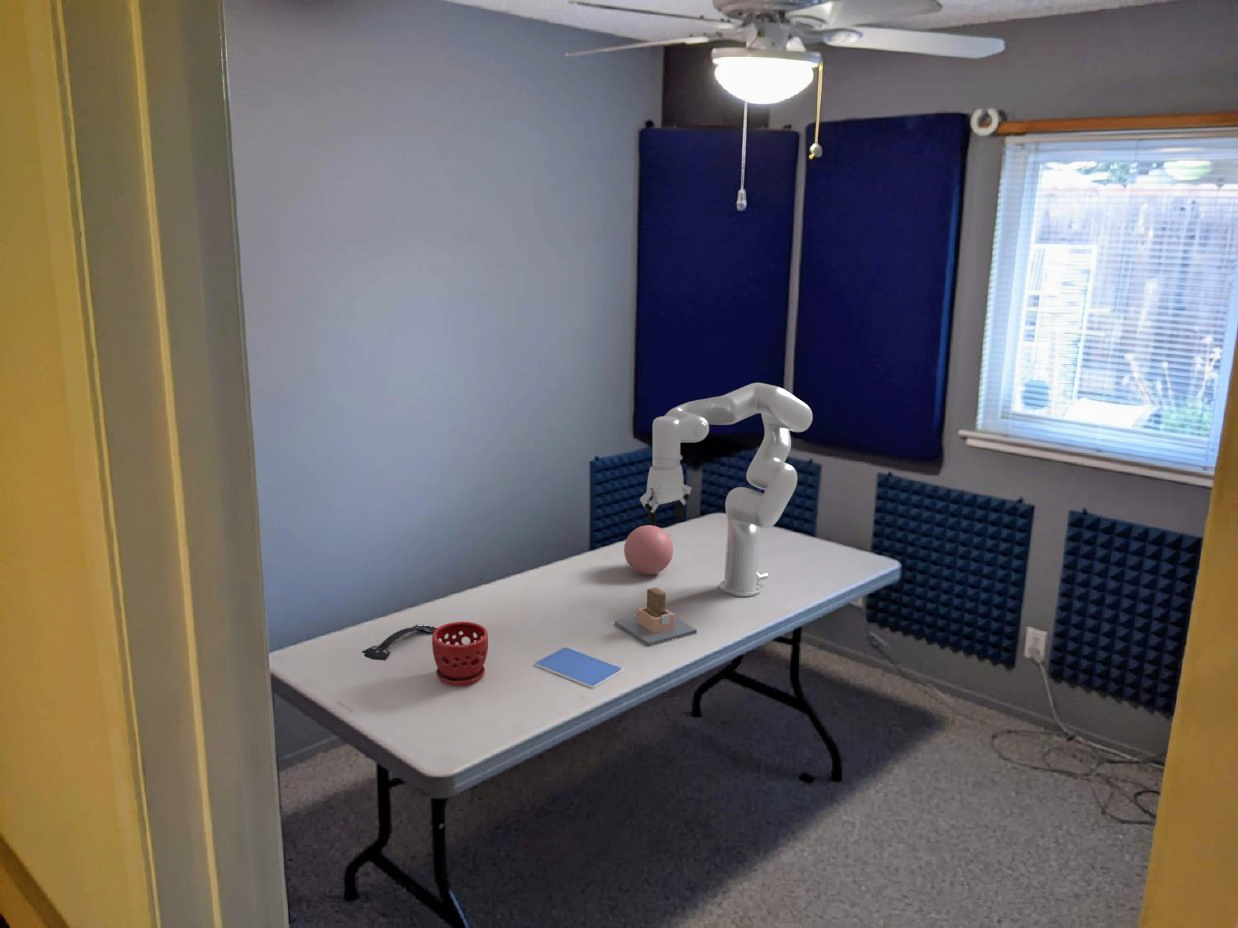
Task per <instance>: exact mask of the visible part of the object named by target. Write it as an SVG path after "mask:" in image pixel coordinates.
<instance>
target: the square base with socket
mask: <svg viewBox="0 0 1238 928" xmlns="http://www.w3.org/2000/svg"><path fill="white" fill-rule="evenodd" d="M646 610H647V606H644V607H641V608H637V609H636V612H637V613H636V615H633V616H629V617H625V618H622V619H619V620H615V621H614V626H616V627H618V628H619V629H621V630H622V631H624V632H625V633H627V634H628V635H630V636H632V637H633V638H635V639H636V638H637V639H636V640H638V641H639V640H640V641H639V642H641V643H642V642H643V643H642V644H644V643H645V644H644V645H646V646H647V645H648V646H647V647H651V646H650V645H652V646H654V645H653V644H655V645H658V644H657V643H659V644H662V643H666V642H669V641H668V640H670V641H672V639H674V640H676V639H675V638H677V639H680V638H684V637H687V635H688V636H691V634H692V635H694V634H698V633H697V632H698V630H697V629H696V628H695V627H693V626H691V625H690V624H687V623H686V622H684V621H683V620H681V619H680V618H677V617H676V615H675V613H673V612H671V611H669V610H668V609H666V608H665V615H661V617H657V618H655V617H653V616H652V615H650V614H648V613H646ZM665 641H666V642H665Z"/></svg>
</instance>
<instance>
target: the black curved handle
mask: <svg viewBox="0 0 1238 928" xmlns="http://www.w3.org/2000/svg"><path fill="white" fill-rule="evenodd" d="M418 625H419V624H415V625H414V626H412V627H406V628H403V629H400V630H397V631H396V632H394V633H392V634H391V635H390V636H388V637H387V638H386V639H384V640H383V641H382V642H381V643H380V644H379V645H372V646H371V647H369V648H366V649H365V650H362V651H361V653H362V654H363V653H365V654H364V655H363V656H364V657H365V658H367V659H370V660H373V661H374V660H375V661H386V660H387V659H388V658H389V656H390V654H391V651H390V650H389V649H388V648H389V647H390V646H393V645H394V644H396V643H399V642H401V641H403V640H405V639H406V638H410V637H411V636H413V635H415V634H417V633H421V634H424V635H429V636H430V635H433V632H434V631H435V630H436V629H437V628H438V627H436V628H435V626H432V627H430V626H431V625H429V626H424V625H425V624H422V625H423V626H418ZM415 631H416V632H415ZM413 632H414V633H413ZM409 634H410V635H409ZM407 635H409V636H407ZM405 636H406V637H405ZM402 637H403V639H401V638H402ZM398 639H400V640H399V641H397V640H398Z"/></svg>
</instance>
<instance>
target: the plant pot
mask: <svg viewBox="0 0 1238 928" xmlns="http://www.w3.org/2000/svg"><path fill="white" fill-rule="evenodd" d="M436 628H437V629H436V630H435V631H434V632H433V634H431V635H432V637H431V640H432V642H431V644H432V653H433V658H434V663H435V664H436V667H437V668H436V670H435V671H436V672H435V674H436V677H437V679H438V680H439V681H441V682H442V683H443V684H446V685H449V686H452V687H453V686H454V687H464V686H465V687H466V686H469V685H473V684H476V683H478V682H479V681H480V680H482V679H483V677H484V676H485V673H486V669H485V668H486V667H485V666H484V665H485V662H486V659H487V655H488V650H489V632H488V629H487V628H486V627H485V626H483V625H481V624H479V623H477V622H472V621H455V622H448V623H445V624H443V625H440V626H439V627H436ZM460 632H462V634H460ZM474 634H476V636H474ZM446 635H448V637H447V638H445V637H446ZM454 636H455V638H453V637H454ZM463 638H468V639H469V643H467V644H464V643H463V641H462V640H463ZM448 642H449V643H448ZM456 643H458V644H456Z"/></svg>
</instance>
